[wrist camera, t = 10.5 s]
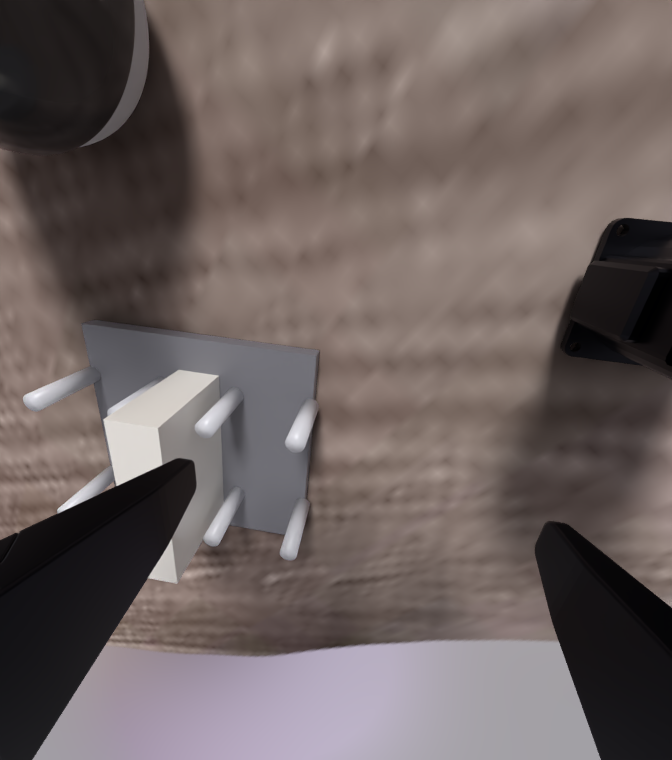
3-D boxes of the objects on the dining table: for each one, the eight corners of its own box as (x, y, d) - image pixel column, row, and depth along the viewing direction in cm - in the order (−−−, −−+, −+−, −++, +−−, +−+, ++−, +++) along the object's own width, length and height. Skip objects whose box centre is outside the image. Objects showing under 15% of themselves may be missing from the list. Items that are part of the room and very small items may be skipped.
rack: (326, 351, 20) (310, 385, 15) (309, 527, 25) (293, 592, 21) (88, 318, 21) (5, 342, 16) (123, 495, 26) (68, 549, 22)
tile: (219, 375, 20) (157, 428, 14) (223, 504, 24) (177, 583, 18) (178, 369, 20) (103, 419, 15) (190, 498, 24) (134, 575, 19)
